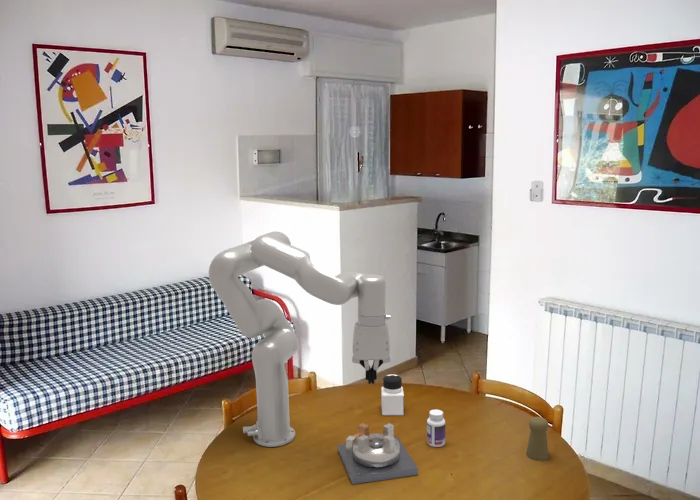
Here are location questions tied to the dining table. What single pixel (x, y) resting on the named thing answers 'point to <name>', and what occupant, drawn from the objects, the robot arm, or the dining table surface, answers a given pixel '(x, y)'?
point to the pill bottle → (436, 428)
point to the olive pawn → (538, 439)
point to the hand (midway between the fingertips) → (371, 381)
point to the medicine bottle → (392, 395)
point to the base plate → (370, 474)
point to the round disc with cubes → (376, 447)
